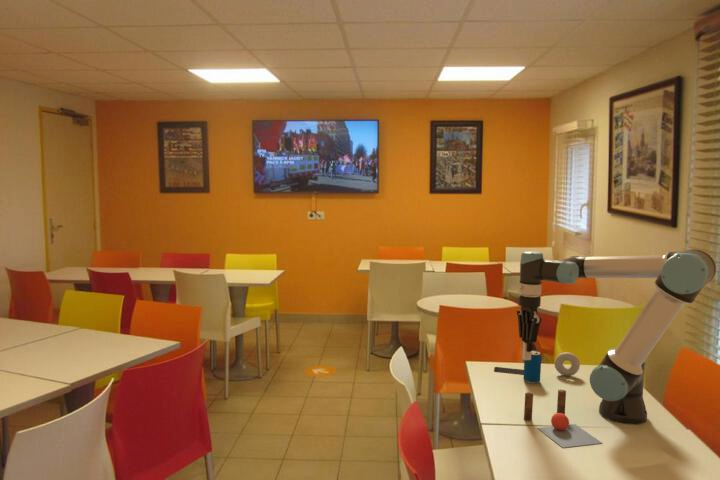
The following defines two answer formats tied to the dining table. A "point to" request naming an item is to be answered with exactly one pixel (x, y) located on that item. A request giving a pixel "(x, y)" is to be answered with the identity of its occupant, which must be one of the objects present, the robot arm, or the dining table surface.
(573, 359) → the donut
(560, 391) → the post right
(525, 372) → the beverage can
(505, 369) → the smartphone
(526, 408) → the post left
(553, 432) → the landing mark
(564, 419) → the ball
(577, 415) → the dining table surface
